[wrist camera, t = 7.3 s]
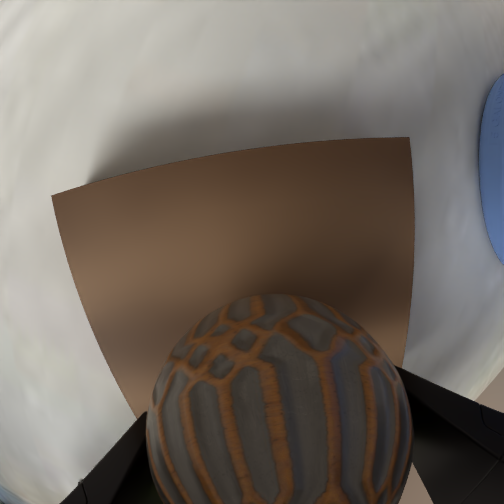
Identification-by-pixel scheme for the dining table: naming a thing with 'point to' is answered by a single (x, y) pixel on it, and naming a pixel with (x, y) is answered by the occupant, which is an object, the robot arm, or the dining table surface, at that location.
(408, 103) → the dining table surface
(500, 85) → the water jug
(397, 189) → the walnut block
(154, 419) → the vase
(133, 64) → the dining table surface
